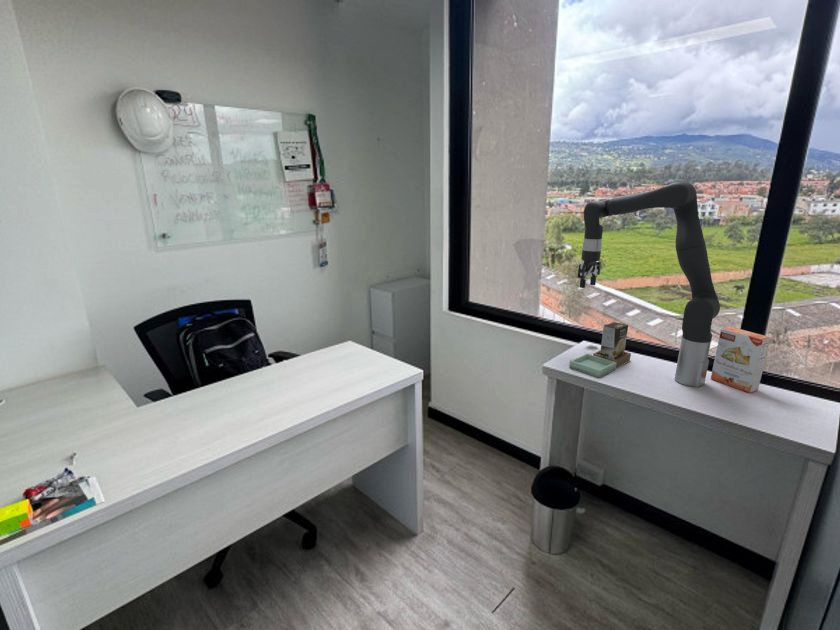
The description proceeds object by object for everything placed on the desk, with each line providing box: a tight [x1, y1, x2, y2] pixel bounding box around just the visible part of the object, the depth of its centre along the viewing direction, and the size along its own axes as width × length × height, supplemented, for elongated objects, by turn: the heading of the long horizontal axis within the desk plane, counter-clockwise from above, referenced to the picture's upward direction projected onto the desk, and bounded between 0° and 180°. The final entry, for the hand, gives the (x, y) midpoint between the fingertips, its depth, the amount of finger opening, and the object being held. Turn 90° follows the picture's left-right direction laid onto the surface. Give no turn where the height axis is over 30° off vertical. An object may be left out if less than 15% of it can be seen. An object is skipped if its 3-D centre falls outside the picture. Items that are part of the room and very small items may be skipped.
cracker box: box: [710, 326, 772, 394], centre depth 162 cm, size 14×6×21 cm, turn 28°
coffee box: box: [599, 321, 629, 359], centre depth 185 cm, size 9×6×16 cm
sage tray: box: [568, 353, 617, 379], centre depth 179 cm, size 13×13×3 cm
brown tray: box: [592, 350, 632, 369], centre depth 187 cm, size 10×13×4 cm
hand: (587, 286), depth 192 cm, fingers open, 8 cm apart
